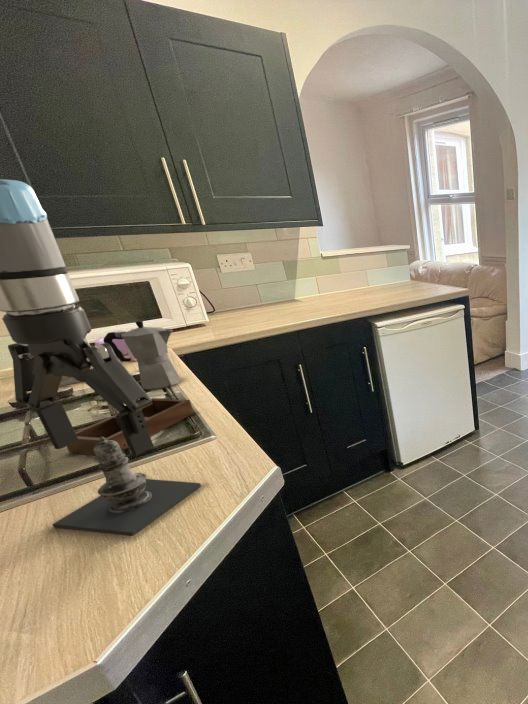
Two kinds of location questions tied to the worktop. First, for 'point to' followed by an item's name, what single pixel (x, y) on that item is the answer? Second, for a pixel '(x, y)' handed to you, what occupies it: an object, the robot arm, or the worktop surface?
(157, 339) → the coffeepot
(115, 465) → the grey chess piece
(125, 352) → the clip
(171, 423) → the brown shallow rectangular box
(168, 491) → the mat
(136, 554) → the worktop surface
